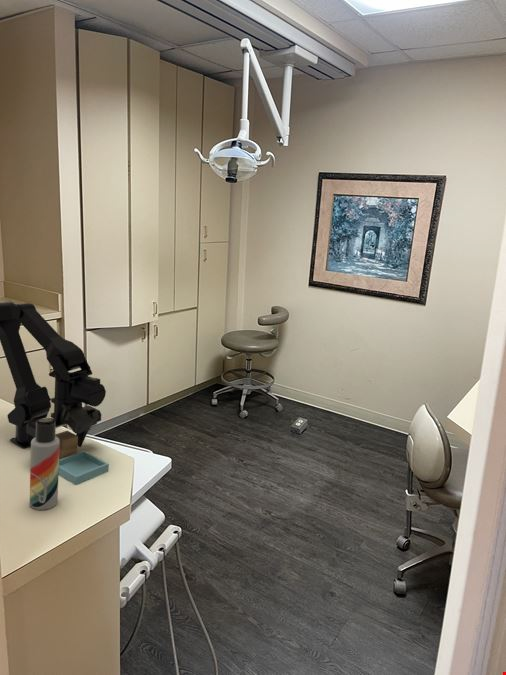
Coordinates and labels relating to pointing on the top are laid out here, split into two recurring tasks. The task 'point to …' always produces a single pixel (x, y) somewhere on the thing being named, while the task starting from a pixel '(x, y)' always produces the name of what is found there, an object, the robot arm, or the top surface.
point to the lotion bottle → (44, 465)
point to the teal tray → (81, 467)
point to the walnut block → (67, 444)
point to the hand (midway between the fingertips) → (64, 451)
